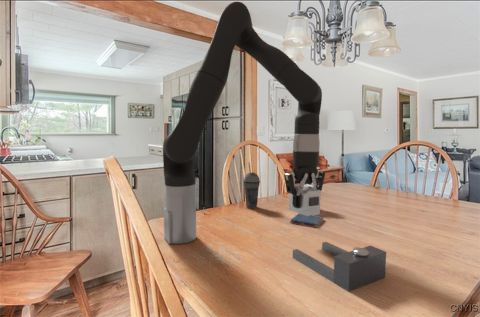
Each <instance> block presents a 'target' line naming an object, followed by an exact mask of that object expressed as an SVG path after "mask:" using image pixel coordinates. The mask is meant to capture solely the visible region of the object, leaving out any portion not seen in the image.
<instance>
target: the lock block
mask: <svg viewBox="0 0 480 317" xmlns="http://www.w3.org/2000/svg"><path fill="white" fill-rule="evenodd" d="M296 191H297V189H296ZM288 194H289V195H288V210H290V211H293V212H295V213H297V214H299V213H300V214H302V215H305V216H311V215H314V216H318V215H320V214H321V194H322V190H318V189H313V188H310V187H306V186H304V187H303V189H302V190H301V193H300V195H299V196H300V208H295V207H294V206H293V204H292V201H293V195H292V194H291V193H288Z"/></svg>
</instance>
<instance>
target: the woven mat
mask: <svg viewBox="0 0 480 317" xmlns="http://www.w3.org/2000/svg"><path fill="white" fill-rule="evenodd" d="M324 221H325V220H324V217H323V216H321V215H311V216H305V215H302V214H300V213H297V214H296V215H295V216H294V217H292V218H291V219H290V221H289V224H295V225H299V226H303V227H304V226H306V227H311V228H316V229H317V228H318V227H319V226H320V225H322V223H323V222H324Z"/></svg>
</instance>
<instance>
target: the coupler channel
mask: <svg viewBox="0 0 480 317" xmlns="http://www.w3.org/2000/svg"><path fill="white" fill-rule="evenodd" d="M321 250H322V251H323V252H326V253H328V254H330V255H332V256H334V257H333V258H334V259H333V260H334V261H333V268H332V267H330V266H328V265H327V264H326V263H325V264H324V263H323V262H322V261H319V260H318V259H316V258H314V257H312V256H310V255H309V254H307V253H305V252H303V251H302V250H300V249H298V248H296V249H292V258H293V259H295V260H296V261H298V262H300V263H301V264H303V265H304V266H306V267H308V268H309V269H311V270H312V271H314V272H316V273H317V274H319V275H320V276H322V277H324V278H326V279H327V280H329V281H331V282H332V283H333V284H335V285H337V286H339V287H340V288H342V289H343V290H345V291H347V292H351V291H354V290H356V289H359V288H361V287H364V286H366V285H369V284H372V283H375V282H376V281H379V280H382V279H384V278H386V269H387V268H386V266H387V251H385V250H383V249H381V248H377V247H375V246H373V245H368V246H364V247H354V248H352V250H351V251H347V250H345V249H343V248H341V247H338V246H336V245H335V244H332V243H330V242H327V241H323V242H322V243H321Z"/></svg>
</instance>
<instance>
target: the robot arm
mask: <svg viewBox="0 0 480 317" xmlns="http://www.w3.org/2000/svg"><path fill="white" fill-rule="evenodd" d="M235 46H236V47H238V49H240V50H242V51H243V52H244V53H246V54H247V55H249V56H250V57H252V58H253V59H254V60H255V61H257V62H258V64H260V66H261V67H263V68H264V69H265V70H266V71H267V72H268V73H269V74H270V75H271V76H272V77H273V78H274V79H275V80H276V81H277V82H278V83H279V84H280V85H282V86H283V87H284V88H285V89H286V91H288V93H290V95H291V96H292V97H293V98H294V99H295V100H296V101H297V102H298V104H297V106H298V107H297V114H296V116H295V118H294V136H293V142H292V165H293V169H292V172H289V173H287V172H285V173H284V175H283V176H284V182H285V189H286V193H288V194H289V193H291V194H292V195H293V201H292V204H293V206H294V207H295V208H300V196H299V195H300V193H301V190H302V189H303V187H304V185H306V186H307V187H310V188H313V189H318V190H321V191H322V190H323V185H324V180H325V177H326V173H325V172H324V171H319V170H318V167H319V166H320V165H319V164H320V145H321V144H320V143H321V142H320V114H321V108H322V99H323V91H322V88H321V86H320V85H319V84H318V83H317V81H316V80H315V79H314V78H313V77H311V76H310V75H309V74H307V73H306V72H305V71H304V70H303V69H301V68H300V66H299V65H298V64H296V62H295V61H294V60H293V59H291V58H290V56H288V55H287V53H285V52H283V51H282V50H281V49H280V48H277V47H275V46H273V45H271V44H269V43H267V42H266V41H265V40H263V39H262V37H260V35H259V34H258V33H257V32H256V30H255V29H254V28H253V22H252V16H251V13H250V11H249V9H248V7H247V6H246V5H245V4H244V3H243V2H242V1H233V2H230V3H229V4H227V5H226V6H225V7H224V8H223V10H222V12H221V13H220V16H219V18H218V21H217V25H216V28H215V31H214V32H213V36H212V39H211V42H210V44H209V46H208V48H207V50H206V52H205V55H204V57H203V59H202V61H201V63H200V66H199V67H198V70H197V71H196V74H195V76H194V78H193V81H192V82H191V85H190V88H189V91H188V95H187V98H186V102H185V106H184V108H183V109H184V110H183V112H182V115H181V117H180V118H179V120H178V122H177V124H176V126H175V128H174V129H173V131H172V132H170V133H169V134H168V135H167V136H166V137H165V139H164V140H163V143H162V144H163V145H162V163H163V176H164V199H165V200H164V201H165V204H164V208H163V227H164V228H163V229H164V239H165V241H166V243H167V244H169V245H173V244H175V245H176V244H177V245H179V244H180V245H182V244H189V243H191V242H193V241H195V240H196V239H197V194H196V193H197V192H196V190H197V189H196V187H197V186H196V181H197V180H196V174H195V169H194V168H195V167H194V156H195V155H196V153H197V150H198V148H199V144H200V142H201V138H202V136H203V132H204V129H205V126H206V124H207V122H208V120H209V118H210V117H211V115H212V113H213V111H214V109H215V107H216V106H217V104H218V101H219V99H220V97H221V95H222V93H223V91H224V89H225V87H226V84H227V80H228V79H229V78H228V77H229V74H230V68H231V62H232V58H233V56H232V55H233V52H234V49H235ZM296 189H297V191H296Z"/></svg>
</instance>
